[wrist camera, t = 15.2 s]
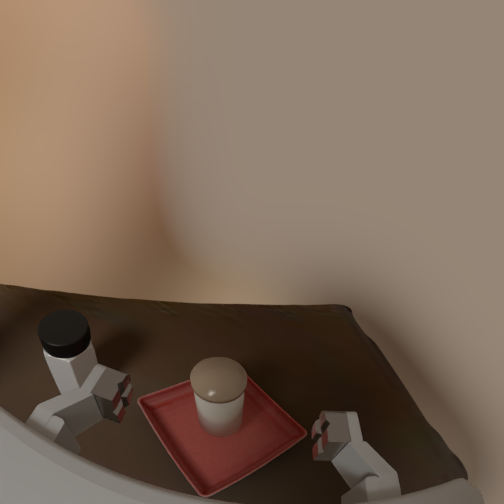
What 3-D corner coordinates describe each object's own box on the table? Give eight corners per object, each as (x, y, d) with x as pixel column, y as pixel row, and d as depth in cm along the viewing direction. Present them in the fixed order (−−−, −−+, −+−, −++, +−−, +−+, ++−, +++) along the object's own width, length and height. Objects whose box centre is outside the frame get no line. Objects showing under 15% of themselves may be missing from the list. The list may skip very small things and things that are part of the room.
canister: (191, 431, 31) (182, 391, 27) (204, 396, 37) (200, 352, 33) (238, 442, 30) (240, 405, 26) (247, 406, 36) (251, 362, 32)
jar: (108, 396, 35) (93, 342, 31) (62, 405, 31) (37, 351, 26) (96, 358, 42) (84, 304, 37) (56, 365, 37) (37, 310, 32)
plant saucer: (202, 504, 23) (203, 499, 22) (137, 409, 35) (135, 397, 34) (303, 442, 35) (310, 432, 33) (231, 373, 47) (234, 361, 46)
